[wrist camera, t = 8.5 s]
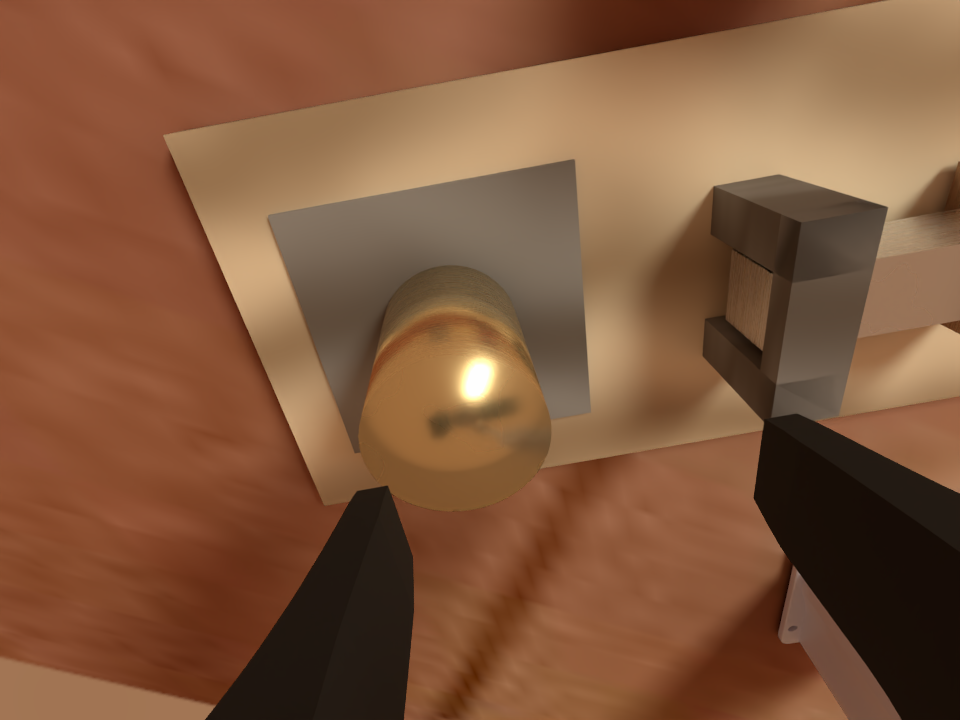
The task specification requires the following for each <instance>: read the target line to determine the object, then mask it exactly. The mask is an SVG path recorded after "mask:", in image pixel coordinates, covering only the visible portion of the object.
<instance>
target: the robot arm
mask: <svg viewBox="0 0 960 720" xmlns="http://www.w3.org/2000/svg"><path fill="white" fill-rule="evenodd" d="M754 500H755V502H756V504H757V505H758V507H759V509H760V511H761V513H762V515H763V517H764V519H765V520H766V522H767V524H768V526H769V528H770V529H771V531H772V533H773V535H774V536H775V538H776V540H777V542H778V543H779V545H780V547H781V548H782V550H783V551H784V553H785V554H786V555H787V557H788V558H789V560H790V561H791V563H792V564H793V569H792V573H791V578H790V582H789V587H788V591H787V596H786V600H785V605H784V609H783V614H782V618H781V623H780V627H779V632H778V637H779V639H780V640H781V642H782V643H785V644H791V643H797V642H800V644H801V645H802V647H803V648H804V650H805V651H806V653H807V655H808V656H809V658H810V659H811V661H812V663H813V664H814V666H815V667H816V669H817V670H818V672H819V674H820V675H821V677H822V678H823V680H824V681H825V683H826V685H827V686H828V688H829V689H830V691H831V693H832V694H833V696H834V697H835V699H836V700H837V702H838V704H839V705H840V707H841V708H842V710H843V711H844V713H845V715H846V716H847V718H848V719H849V720H960V494H959V493H957V492H955V491H953V490H951V489H949V488H947V487H944V486H942V485H940V484H938V483H936V482H934V481H932V480H930V479H928V478H926V477H924V476H922V475H920V474H918V473H916V472H914V471H912V470H910V469H908V468H906V467H904V466H902V465H900V464H898V463H896V462H894V461H892V460H890V459H888V458H886V457H884V456H882V455H880V454H878V453H876V452H874V451H872V450H870V449H868V448H866V447H864V446H862V445H860V444H858V443H856V442H855V441H853V440H851V439H849V438H847V437H845V436H843V435H841V434H839V433H837V432H835V431H833V430H831V429H829V428H827V427H825V426H823V425H821V424H819V423H817V422H815V421H813V420H811V419H808V418H806V417H804V416H802V415H800V414H797V413H796V414H790V415H784V416H779V417H773V418H767V419H764V426H763V433H762V440H761V448H760V455H759V462H758V470H757V477H756V484H755V492H754ZM413 614H414V579H413V556H412V553H411V550H410V547H409V544H408V541H407V539H406V536H405V533H404V530H403V527H402V524H401V521H400V518H399V516H398V513H397V510H396V507H395V504H394V501H393V498H392V495H391V493H390V490H389V487H388V486H382V487H376V488H371V489H365V490H359V491H357V492H356V493H355V494H354V495H353V497H352V499H351V500H350V502H349V504H348V506H347V508H346V509H345V511H344V513H343V515H342V516H341V518H340V520H339V522H338V524H337V525H336V527H335V529H334V531H333V532H332V534H331V536H330V538H329V539H328V541H327V543H326V545H325V546H324V548H323V550H322V551H321V553H320V555H319V556H318V558H317V560H316V561H315V563H314V565H313V566H312V568H311V570H310V571H309V573H308V574H307V576H306V578H305V579H304V581H303V583H302V584H301V586H300V587H299V589H298V591H297V592H296V594H295V595H294V597H293V599H292V600H291V602H290V603H289V605H288V606H287V608H286V609H285V611H284V612H283V614H282V615H281V617H280V618H279V620H278V621H277V623H276V624H275V625H274V627H273V628H272V630H271V631H270V633H269V634H268V636H267V637H266V639H265V640H264V642H263V643H262V645H261V646H260V648H259V649H258V650H257V652H256V653H255V655H254V656H253V657H252V659H251V660H250V662H249V663H248V664H247V666H246V667H245V668H244V670H243V671H242V673H241V674H240V675H239V677H238V678H237V679H236V681H235V682H234V683H233V685H232V686H231V687H230V688H229V690H228V691H227V692H226V694H225V695H224V696H223V697H222V699H221V700H220V701H219V703H218V704H217V705H216V707H215V708H214V709H213V711H212V712H211V713H210V714H209V715H208V717H207V718H206V719H205V720H404V711H405V701H406V690H407V680H408V669H409V659H410V648H411V637H412V626H413Z"/></svg>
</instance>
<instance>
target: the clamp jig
mask: <svg viewBox="0 0 960 720" xmlns="http://www.w3.org/2000/svg"><path fill="white" fill-rule="evenodd" d="M163 136H164V139H165V141H166V143H167V146H168V148H169V150H170V152H171V155H172V157H173V159H174V162H175V164H176V166H177V168H178V171H179V173H180V175H181V178H182V180H183V182H184V185H185V187H186V189H187V191H188V194H189V196H190V198H191V201H192V203H193V205H194V208H195V210H196V212H197V214H198V217H199V219H200V221H201V224H202V226H203V228H204V231H205V233H206V235H207V237H208V240H209V242H210V244H211V247H212V249H213V251H214V253H215V256H216V258H217V260H218V263H219V265H220V267H221V270H222V272H223V274H224V276H225V279H226V281H227V283H228V286H229V288H230V290H231V293H232V295H233V297H234V299H235V302H236V304H237V306H238V309H239V311H240V313H241V315H242V318H243V320H244V322H245V325H246V327H247V329H248V332H249V334H250V336H251V338H252V341H253V343H254V345H255V348H256V350H257V352H258V355H259V357H260V359H261V361H262V364H263V366H264V368H265V371H266V373H267V375H268V378H269V380H270V382H271V384H272V387H273V389H274V391H275V394H276V396H277V398H278V400H279V403H280V405H281V407H282V410H283V412H284V414H285V417H286V419H287V421H288V423H289V426H290V428H291V430H292V433H293V435H294V437H295V440H296V442H297V444H298V446H299V449H300V451H301V453H302V456H303V458H304V460H305V463H306V465H307V467H308V469H309V472H310V474H311V476H312V479H313V481H314V483H315V485H316V488H317V490H318V492H319V495H320V497H321V499H322V502H323V504H324V506H327V505H333V504H338V503H344V502H350V500H351V499H352V497H353V495H354V494H355V493H356V492H357V491H359V490H365V489H371V488H376V487H382V486H381V485H380V484H379V483H378V482H377V481H376V479H375V478H374V477H373V476H372V475H371V473H370V472H369V470H368V468H367V467H366V465H365V463H364V460H363V458H362V455H361V451H360V448H359V438H358V434H359V424H360V420H361V415H362V411H363V407H364V403H365V398H366V394H367V390H368V386H369V381H370V377H371V373H372V369H373V364H374V360H375V356H376V351H377V347H378V343H379V339H380V334H381V330H382V326H383V322H384V317H385V313H386V309H387V307H388V304H389V302H390V300H391V298H392V296H393V295H394V293H395V292H396V291H397V289H398V288H399V287H400V286H401V285H402V284H403V283H404V282H405V281H407V280H408V279H409V278H411V277H412V276H414V275H415V274H417V273H419V272H421V271H424V270H426V269H429V268H433V267H437V266H446V265H457V266H464V267H468V268H472V269H475V270H478V271H480V272H482V273H484V274H486V275H488V276H489V277H491V278H492V279H493V280H495V281H496V282H497V283H498V284H499V285H500V286H501V287H502V288H503V289H504V290H505V292H506V293H507V294H508V296H509V298H510V300H511V302H512V304H513V307H514V309H515V312H516V315H517V318H518V321H519V324H520V327H521V330H522V333H523V336H524V339H525V342H526V345H527V348H528V351H529V354H530V357H531V360H532V363H533V366H534V369H535V372H536V375H537V378H538V381H539V384H540V387H541V390H542V393H543V396H544V399H545V402H546V405H547V408H548V411H549V414H550V419H551V428H552V436H551V443H550V447H549V451H548V454H547V456H546V458H545V461H544V463H543V464H542V466H541V468H547V467H553V466H559V465H564V464H570V463H576V462H582V461H588V460H593V459H599V458H605V457H611V456H617V455H622V454H628V453H634V452H640V451H646V450H651V449H657V448H663V447H669V446H675V445H680V444H686V443H692V442H698V441H704V440H709V439H715V438H721V437H727V436H732V435H738V434H744V433H750V432H756V431H761V430H763V426H764V419H767V418H773V417H779V416H784V415H790V414H796V413H797V414H800V415H802V416H804V417H806V418H808V419H811V420H813V421H819V420H825V419H831V418H837V417H843V416H848V415H854V414H860V413H866V412H872V411H877V410H883V409H889V408H895V407H901V406H906V405H912V404H918V403H924V402H929V401H935V400H941V399H947V398H953V397H958V396H960V334H958V333H956V332H955V331H953V330H951V329H949V328H947V327H945V326H943V325H941V324H936V325H931V326H925V327H919V328H913V329H908V330H902V331H896V332H891V333H885V334H879V335H873V336H868V337H862V338H857V337H858V333H859V329H860V324H861V320H862V316H863V312H864V308H865V303H866V299H867V295H868V291H869V286H870V282H871V278H872V274H873V270H874V265H875V261H876V257H877V253H878V248H879V244H880V240H881V236H882V232H883V227H884V223H885V222H888V221H893V220H899V219H905V218H910V217H916V216H921V215H927V214H933V213H938V212H944V209H945V206H946V202H947V199H948V195H949V192H950V189H951V185H952V182H953V178H954V175H955V171H956V168H957V165H958V161H960V0H885V1H879V2H874V3H868V4H863V5H858V6H852V7H847V8H842V9H836V10H831V11H825V12H820V13H815V14H809V15H804V16H798V17H793V18H788V19H782V20H777V21H772V22H766V23H761V24H755V25H750V26H745V27H739V28H734V29H728V30H723V31H718V32H712V33H707V34H702V35H696V36H691V37H685V38H680V39H675V40H669V41H664V42H658V43H653V44H648V45H642V46H637V47H632V48H626V49H621V50H615V51H610V52H605V53H599V54H594V55H588V56H583V57H578V58H572V59H567V60H562V61H556V62H551V63H545V64H540V65H535V66H529V67H524V68H518V69H513V70H508V71H502V72H497V73H492V74H486V75H481V76H475V77H470V78H465V79H459V80H454V81H448V82H443V83H438V84H432V85H427V86H422V87H416V88H411V89H405V90H400V91H395V92H389V93H384V94H378V95H373V96H368V97H362V98H357V99H352V100H346V101H341V102H335V103H330V104H325V105H319V106H314V107H308V108H303V109H298V110H292V111H287V112H282V113H276V114H271V115H265V116H260V117H255V118H249V119H244V120H238V121H233V122H228V123H222V124H217V125H212V126H206V127H201V128H195V129H190V130H185V131H179V132H175V133H171V134H166V135H163ZM732 249H736V250H737V251H739V252H741V253H742V254H744V255H746V256H748V257H749V258H751V259H753V260H754V261H756V262H758V263H759V264H761V265H763V266H764V267H766V268H768V269H769V270H771V271H773V279H772V286H771V294H770V301H769V309H768V316H767V323H766V331H765V338H764V346H763V351H762V350H760V349H759V348H758V347H757V346H756V345H755V344H754V343H752V342H751V341H750V340H749V339H748V338H747V337H745V336H744V335H743V334H742V333H741V332H740V331H738V330H737V329H736V328H735V327H734V326H733V325H731V324H730V323H729V322H728V321H727V320H726V319H725V318H726V307H727V296H728V285H729V274H730V262H731V251H732ZM541 468H540V469H541Z"/></svg>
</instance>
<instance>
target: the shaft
mask: <svg viewBox="0 0 960 720" xmlns="http://www.w3.org/2000/svg"><path fill="white" fill-rule="evenodd" d="M772 279H773V271H771V270H769V269H768V268H766V267H764V266H763V265H761V264H759V263H758V262H756V261H754V260H753V259H751V258H749V257H748V256H746V255H744V254H742V253H741V252H739V251H737V250H736V249H732V251H731V262H730V274H729V285H728V296H727V307H726V318H725V319H726V320H727V321H728V322H729V323H730V324H731V325H733V326H734V327H735V328H736V329H737V330H738V331H740V332H741V333H742V334H743V335H744V336H745V337H747V338H748V339H749V340H750V341H751V342H752V343H754V344H755V345H756V346H757V347H758V348H759V349H760V350H762V351H763V346H764V338H765V331H766V323H767V316H768V309H769V301H770V294H771V286H772ZM936 324H941V325H943V326H945V327H947V328H949V329H951V330H953V331H955V332H956V333H958V334H960V161H958V165H957V168H956V171H955V175H954V178H953V182H952V185H951V189H950V192H949V195H948V199H947V202H946V206H945V209H944V212H938V213H933V214H927V215H921V216H916V217H910V218H905V219H899V220H893V221H888V222H885V223H884V227H883V232H882V236H881V240H880V244H879V248H878V253H877V257H876V261H875V265H874V270H873V274H872V278H871V282H870V286H869V291H868V295H867V299H866V303H865V308H864V312H863V316H862V320H861V324H860V329H859V333H858V337H857V338H862V337H868V336H873V335H879V334H885V333H891V332H896V331H902V330H908V329H913V328H919V327H925V326H931V325H936Z"/></svg>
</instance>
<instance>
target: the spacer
mask: <svg viewBox="0 0 960 720" xmlns="http://www.w3.org/2000/svg"><path fill="white" fill-rule="evenodd" d="M551 436H552V428H551V419H550V414H549V411H548V408H547V405H546V402H545V399H544V396H543V393H542V390H541V387H540V384H539V381H538V378H537V375H536V372H535V369H534V366H533V363H532V360H531V357H530V354H529V351H528V348H527V345H526V342H525V339H524V336H523V333H522V330H521V327H520V324H519V321H518V318H517V315H516V312H515V309H514V307H513V304H512V302H511V300H510V298H509V296H508V294H507V293H506V292H505V290H504V289H503V288H502V287H501V286H500V285H499V284H498V283H497V282H496V281H495V280H493V279H492V278H491V277H489V276H488V275H486V274H484V273H482V272H480V271H478V270H475V269H472V268H468V267H464V266H457V265H446V266H437V267H433V268H429V269H426V270H424V271H421V272H419V273H417V274H415V275H414V276H412V277H411V278H409V279H408V280H407V281H405V282H404V283H403V284H402V285H401V286H400V287H399V288H398V289H397V291H396V292H395V293H394V295H393V296H392V298H391V300H390V302H389V304H388V307H387V309H386V313H385V317H384V322H383V326H382V330H381V334H380V339H379V343H378V347H377V351H376V356H375V360H374V364H373V369H372V373H371V377H370V381H369V386H368V390H367V394H366V398H365V403H364V407H363V411H362V415H361V420H360V424H359V434H358V438H359V448H360V451H361V455H362V458H363V460H364V463H365V465H366V467H367V468H368V470H369V472H370V473H371V475H372V476H373V477H374V478H375V479H376V481H377V482H378V483H379V484H380V485H381V486H388V487H389V490H390V493H391V494H393V495H394V496H396V497H398V498H400V499H401V500H403V501H405V502H408V503H410V504H413V505H415V506H419V507H422V508H426V509H431V510H437V511H467V510H474V509H478V508H483V507H486V506H489V505H492V504H495V503H497V502H500V501H502V500H504V499H506V498H508V497H509V496H511V495H513V494H515V493H516V492H517V491H519V490H520V489H521V488H523V487H524V486H525V485H526V484H527V483H528V482H529V481H530V480H531V479H532V478H533V477H534V476H535V475H536V473H537V472H538V471H539V469H540V468H541V466H542V464H543V463H544V461H545V458H546V456H547V454H548V451H549V447H550V443H551Z"/></svg>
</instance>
